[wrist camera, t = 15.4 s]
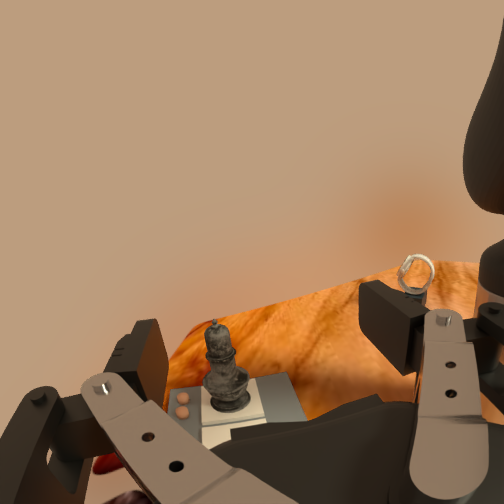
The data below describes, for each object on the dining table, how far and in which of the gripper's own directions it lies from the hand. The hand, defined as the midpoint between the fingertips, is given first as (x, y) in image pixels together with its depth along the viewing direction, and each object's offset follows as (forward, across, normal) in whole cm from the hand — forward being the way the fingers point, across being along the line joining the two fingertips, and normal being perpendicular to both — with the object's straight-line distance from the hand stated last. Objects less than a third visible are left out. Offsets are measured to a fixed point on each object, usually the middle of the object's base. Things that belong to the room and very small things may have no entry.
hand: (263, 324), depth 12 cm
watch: (+38, -36, +24) cm, 57 cm away
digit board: (+17, +3, +23) cm, 29 cm away
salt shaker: (+21, +3, +22) cm, 30 cm away
